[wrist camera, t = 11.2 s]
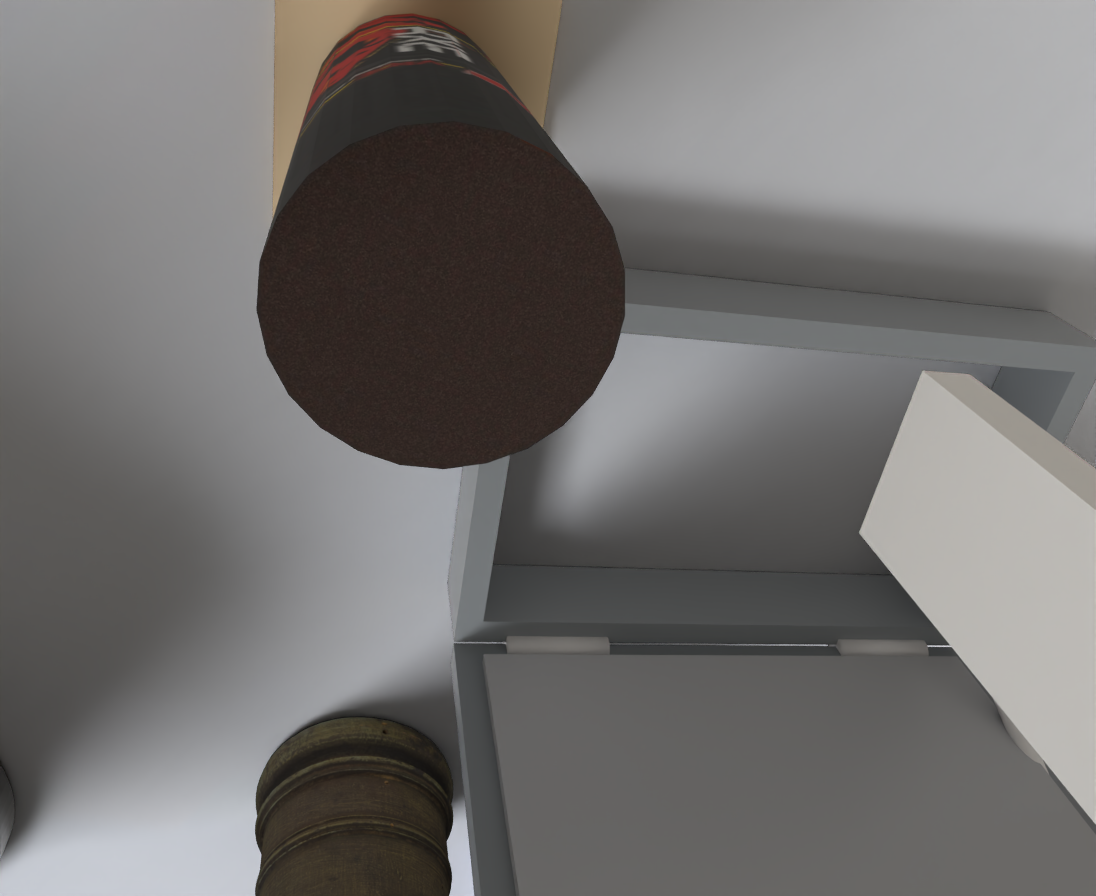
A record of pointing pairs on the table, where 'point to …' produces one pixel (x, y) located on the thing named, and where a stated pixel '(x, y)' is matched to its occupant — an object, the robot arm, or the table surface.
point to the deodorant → (434, 257)
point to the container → (355, 813)
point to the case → (755, 676)
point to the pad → (465, 3)
